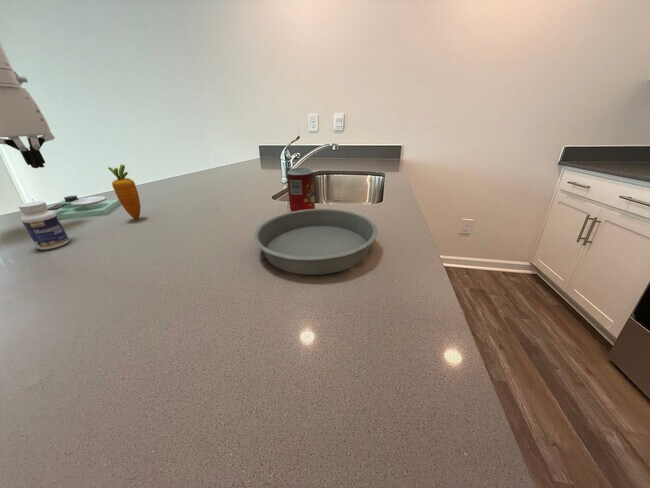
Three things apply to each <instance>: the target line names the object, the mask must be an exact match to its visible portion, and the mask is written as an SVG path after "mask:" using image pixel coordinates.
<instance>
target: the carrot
mask: <svg viewBox="0 0 650 488" xmlns="http://www.w3.org/2000/svg"><path fill="white" fill-rule="evenodd" d="M107 169H108V170H109V171H110V172H111V173H112V174H113V175H114V176H115V178H117V179H115V180H113V181H112V182H111V185H112V188H113V190H114V193H115V195H116V197H117V199H119V201H120V204H121V206H122V208H123V209H124V210H125V211H126V213H128V215H129V216H130V217H131V218H132V219H134V220H136V221H137V220H139V219H140V215H141V200H140V195H139V192H138V189H137V186H136V183H135V181H134V180H133V179H131V178H130V177H127V175H128V174H129V172H128V171H126V172H125V169H126V165H125V164H120V165H119V168H118V167H114V168H112V167H110V166H108V167H107Z"/></svg>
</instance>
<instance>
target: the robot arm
mask: <svg viewBox="0 0 650 488" xmlns="http://www.w3.org/2000/svg"><path fill="white" fill-rule="evenodd" d="M27 83H29V81H28V79H27V77H26V76H25V75H20V74H18V73H17V72H16V71H14V68H13V66H12V64H11V61H10V60H9V58H8V56H7V53H6V50H5V49H4V46H3V44H2V43H1V41H0V145H5V146H9V147H11V148H13V149H15V150H17V151H19V152H20V154H21V156H22V158H23V159H24V162H25V163H26V165H27V166H30V167H31V168H33V169H39V168H41V169H43V168H45V165H44V164H46V161H45V158H44V157H43V155H42V153H41V151H40V150H41V148H42V146H43V144H44V143H47V142H49V141H54V140H55V136H54V134H53V133H52V132H51V128H50V126H49V123H48V122H47V121H48V120H47V119H46V118H45V116H44V114H43V112H42V110H41V109H40V107H39V106H38V104H37V102H36V101H35V99H34V97H33V96H32V94H31V93H30V92H29V90H28V89H27V88H26V87H22V84H27ZM22 137H26V139H27V143H28V147H26V145H25V144H24V142H23V141H22V139H21V138H22Z"/></svg>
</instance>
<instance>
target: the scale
mask: <svg viewBox="0 0 650 488" xmlns="http://www.w3.org/2000/svg"><path fill="white" fill-rule="evenodd" d="M77 198H78V200H79V199H83V198H84V197H77ZM64 203H67V205H66V206H64V207H62V208H60V209H58V210H54V212H55V213H56V215H57V217H58V219H59V220H63V219H73V218H82V217H83V218H84V217H91V216H101V215H107V214H108V213H109V212H111V211H112V210H113V209H115V208H116V207H118V206H119V205H120V204H121V203H120V201H119V199H118V198H117V199H109V200H108V199H106V200H105V201H103V202H100V203H97V204H92V205H86V206H72V205H71V202H66V201H65V199H64V200H61V201H59V203H58V204H64Z"/></svg>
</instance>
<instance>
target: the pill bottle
mask: <svg viewBox="0 0 650 488" xmlns="http://www.w3.org/2000/svg"><path fill="white" fill-rule="evenodd" d="M18 208H19V211H20V212H21V213H22V214H23V215H21V217H20V221H21V223H22V225H23V226H24V228H25V230H26V231H27V233H28V235H29V237H30V238H31V240H32V242H33V243H34V245H35V247H36V248H37V249H38V250H41V251H44V250H50V249H51V250H52V249H56V248H59V247H62V246H65V245H66V244H68V243H69V242H70V238H69V236H68V234H67V232H66V230H65V229H64V227H63V225H62V223H61V221H60V219H58V217H57V215H56V213H55V210H47V209H48V208H49V207H48V204H47V203H46V201H44V200H43V201H42V200H39V201H30V202H26V203H22V204H19V205H18Z"/></svg>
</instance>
